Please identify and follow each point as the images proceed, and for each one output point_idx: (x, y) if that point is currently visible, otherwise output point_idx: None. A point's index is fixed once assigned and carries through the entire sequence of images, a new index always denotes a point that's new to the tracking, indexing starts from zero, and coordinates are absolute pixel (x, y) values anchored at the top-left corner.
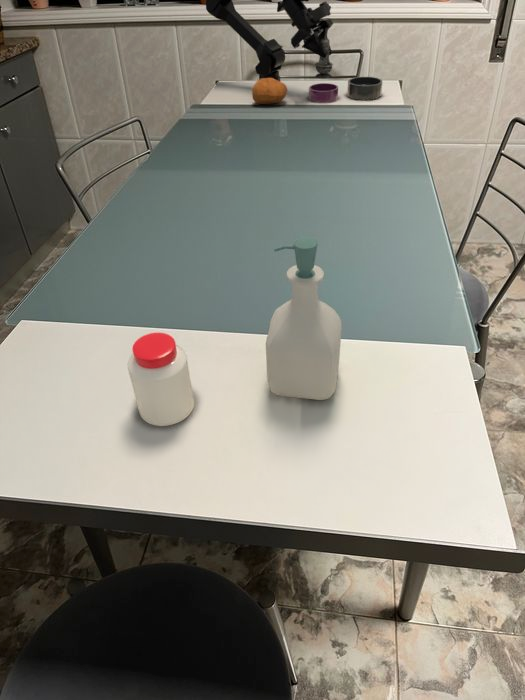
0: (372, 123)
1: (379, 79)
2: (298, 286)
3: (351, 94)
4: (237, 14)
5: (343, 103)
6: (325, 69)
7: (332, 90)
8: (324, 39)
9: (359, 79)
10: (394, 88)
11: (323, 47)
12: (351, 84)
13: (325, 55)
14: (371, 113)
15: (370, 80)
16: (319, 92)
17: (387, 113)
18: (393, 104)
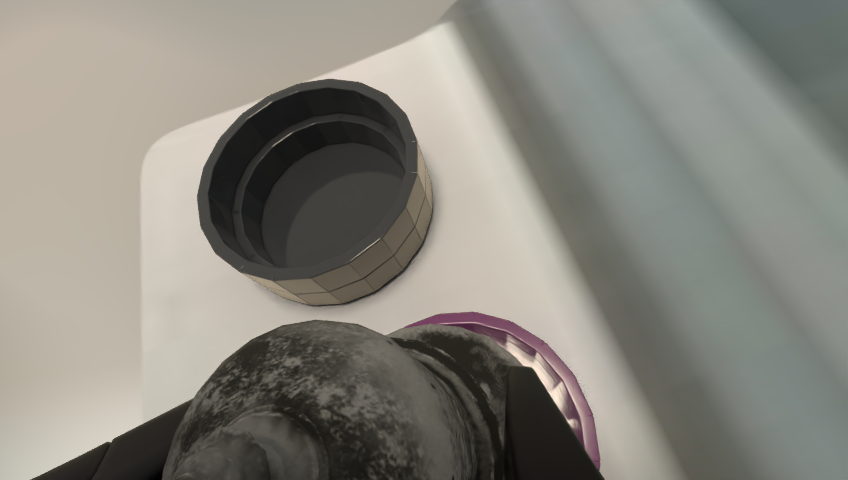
0: (783, 11)
1: (255, 112)
2: None
3: (413, 243)
4: None
5: (523, 262)
6: None
7: (522, 330)
8: (375, 463)
9: (227, 239)
10: (191, 128)
11: (472, 456)
12: (395, 223)
13: (535, 378)
14: (629, 70)
15: (223, 182)
16: (595, 429)
17: (590, 17)
18: (443, 45)
